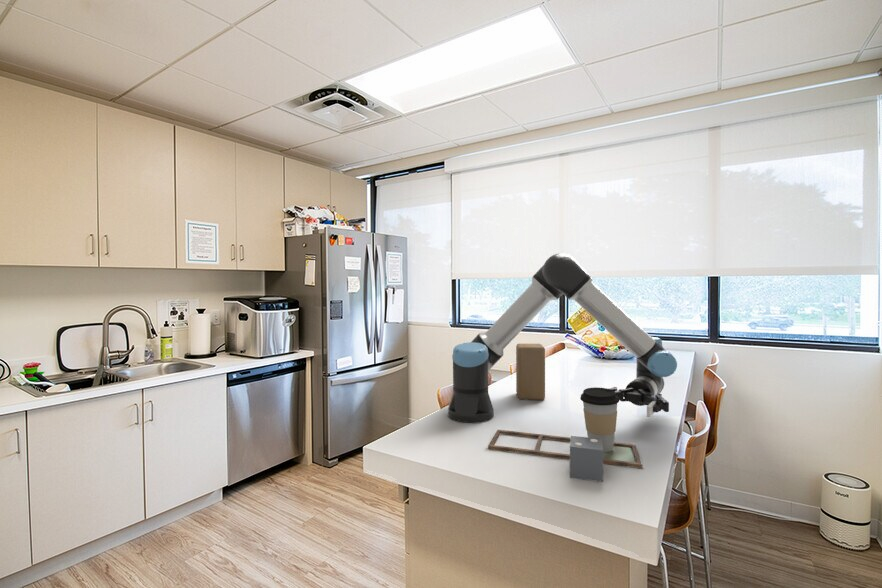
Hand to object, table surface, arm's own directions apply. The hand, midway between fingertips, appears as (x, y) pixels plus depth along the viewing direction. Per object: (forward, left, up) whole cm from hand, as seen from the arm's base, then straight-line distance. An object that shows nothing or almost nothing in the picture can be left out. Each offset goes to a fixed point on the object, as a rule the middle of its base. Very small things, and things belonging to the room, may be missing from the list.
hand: (620, 407), depth 112 cm
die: (-9, -21, -10) cm, 25 cm away
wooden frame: (-15, -8, -10) cm, 20 cm away
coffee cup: (-5, -6, -10) cm, 12 cm away
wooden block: (-29, +40, -10) cm, 51 cm away
